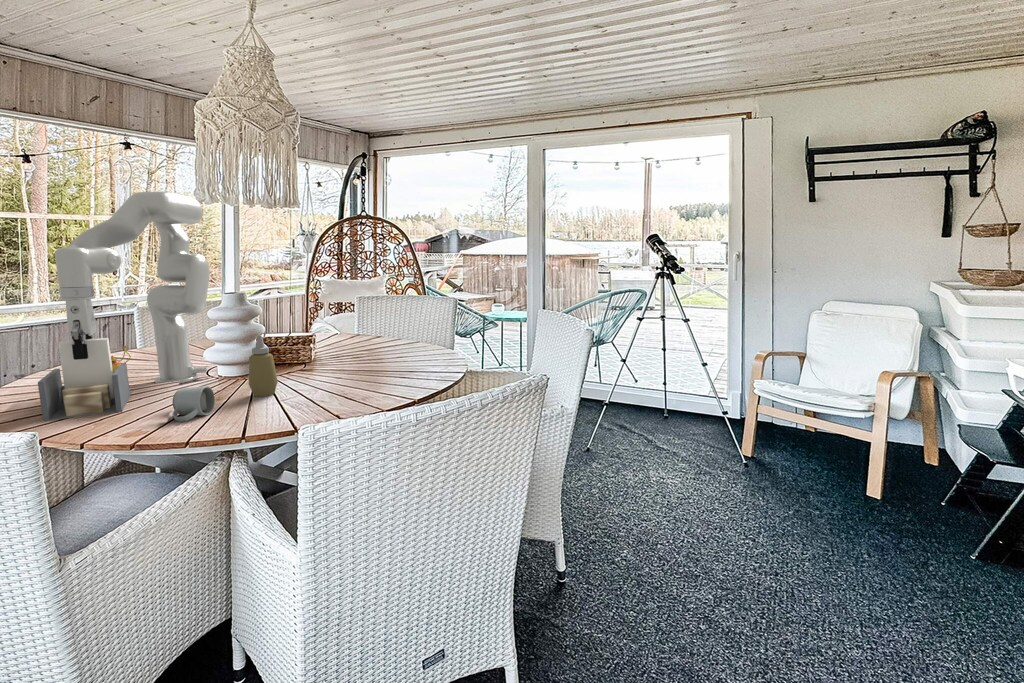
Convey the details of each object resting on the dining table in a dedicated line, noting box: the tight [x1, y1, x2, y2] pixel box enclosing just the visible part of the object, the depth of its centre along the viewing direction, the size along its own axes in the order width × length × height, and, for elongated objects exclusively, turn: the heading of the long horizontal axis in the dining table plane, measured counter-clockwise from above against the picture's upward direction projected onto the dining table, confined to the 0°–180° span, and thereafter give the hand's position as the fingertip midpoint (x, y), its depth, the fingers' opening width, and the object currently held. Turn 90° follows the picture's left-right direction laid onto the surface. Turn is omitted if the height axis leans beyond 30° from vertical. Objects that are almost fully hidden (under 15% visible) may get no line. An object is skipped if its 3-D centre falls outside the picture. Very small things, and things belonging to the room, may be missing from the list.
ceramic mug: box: [171, 385, 216, 423], centre depth 161 cm, size 11×8×8 cm
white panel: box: [57, 337, 115, 398], centre depth 168 cm, size 11×3×18 cm, turn 115°
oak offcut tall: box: [62, 384, 112, 413], centre depth 165 cm, size 10×3×6 cm, turn 115°
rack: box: [37, 362, 131, 422], centre depth 166 cm, size 17×18×12 cm
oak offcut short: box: [64, 391, 105, 416], centre depth 161 cm, size 8×3×5 cm, turn 115°
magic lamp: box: [111, 344, 132, 373], centre depth 211 cm, size 7×18×11 cm, turn 88°
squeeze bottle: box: [248, 334, 279, 398], centre depth 182 cm, size 8×8×18 cm
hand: (84, 356), depth 167 cm, fingers open, 9 cm apart
